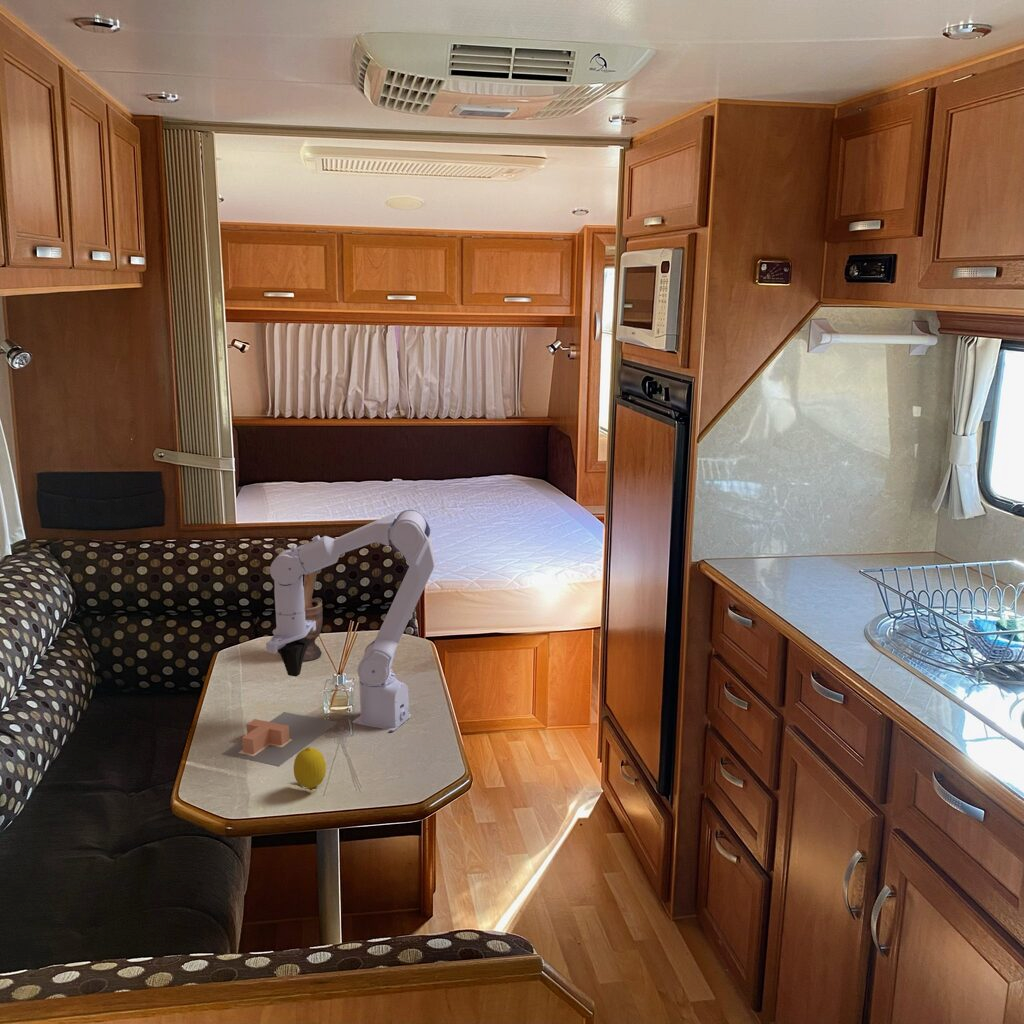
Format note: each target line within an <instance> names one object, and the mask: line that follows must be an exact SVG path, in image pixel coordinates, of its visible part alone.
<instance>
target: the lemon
mask: <svg viewBox="0 0 1024 1024" xmlns="http://www.w3.org/2000/svg"><path fill="white" fill-rule="evenodd" d="M293 763H294V764H293V775H294V778H295V781H296V782H297V784H298V785H300V786H301V787H303V788H306V789H308V790H311V791H312V790H313V789H314V788H316V787H317V786H319V785H320V784H321V783H322V782H323V781H324V779H325V777H326V772H327V765H326V764H327V763H326V760H325V758H324V755H323V753H322V752H321V751H320V750H318V749H316V748H314V747H310V746H306V747H305V748H303V749H302V750H300V751H299V752H298V753H297V754H296V756H295V759H294V762H293Z"/></svg>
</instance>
